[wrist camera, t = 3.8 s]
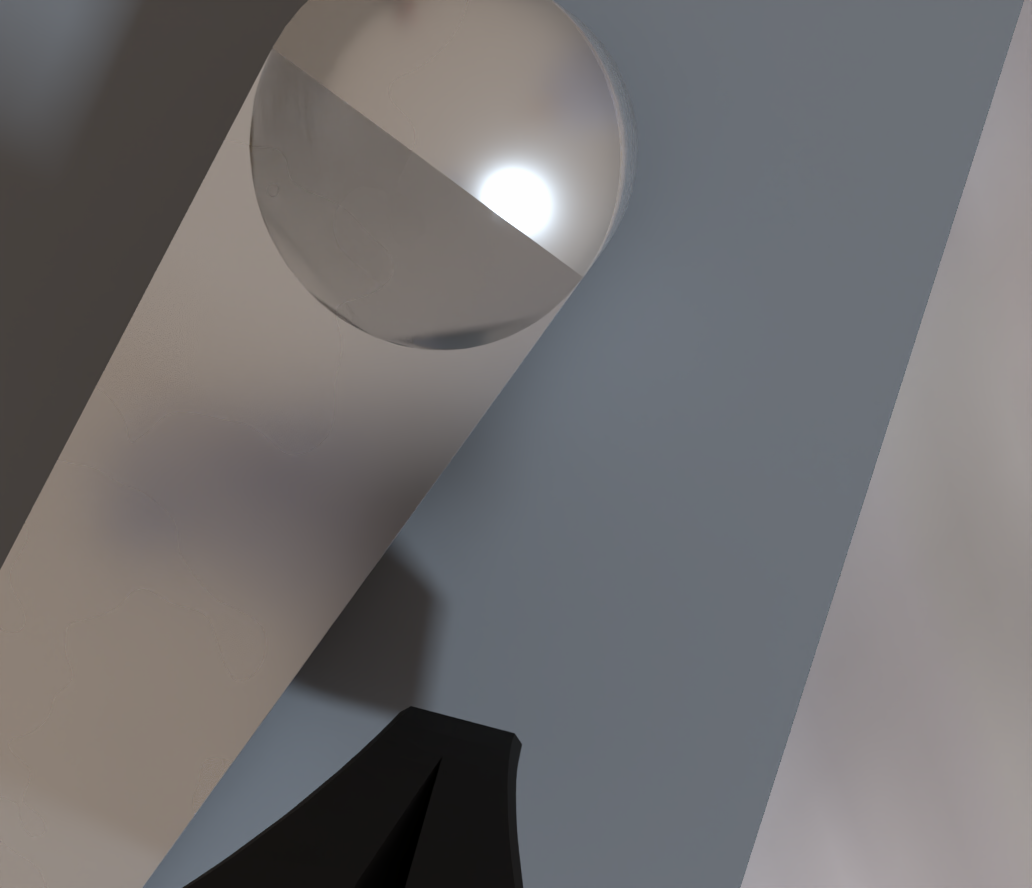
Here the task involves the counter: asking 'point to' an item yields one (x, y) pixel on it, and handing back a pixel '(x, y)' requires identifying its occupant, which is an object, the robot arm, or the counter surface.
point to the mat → (557, 399)
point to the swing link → (290, 400)
